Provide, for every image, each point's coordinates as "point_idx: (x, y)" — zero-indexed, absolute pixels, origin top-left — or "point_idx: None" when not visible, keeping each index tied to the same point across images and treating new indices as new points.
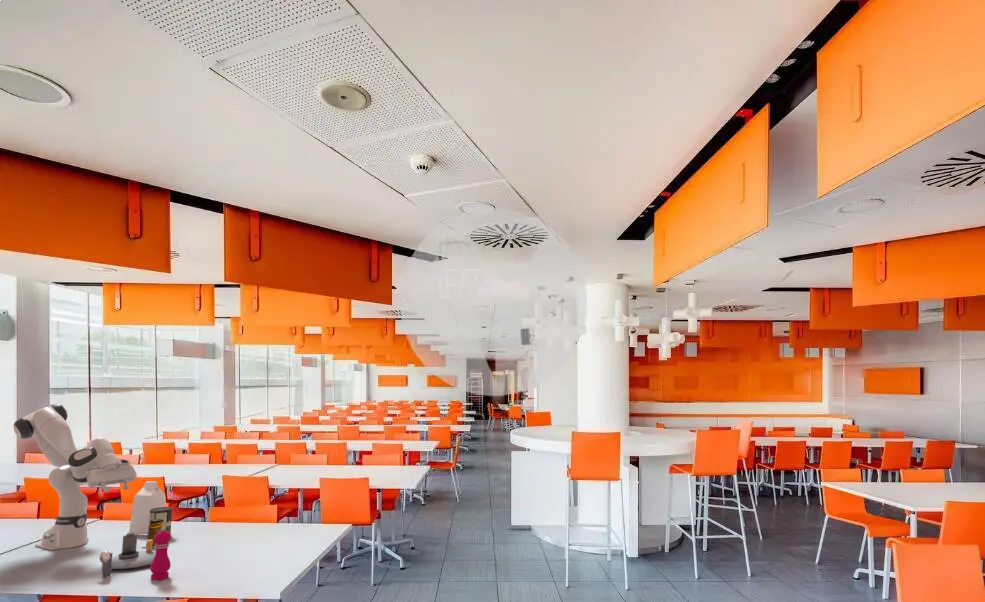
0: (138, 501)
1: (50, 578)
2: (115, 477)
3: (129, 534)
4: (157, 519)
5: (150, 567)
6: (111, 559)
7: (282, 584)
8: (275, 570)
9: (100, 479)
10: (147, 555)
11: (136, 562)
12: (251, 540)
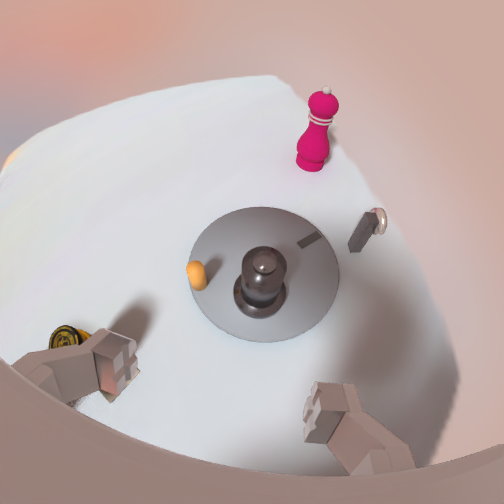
0: None
1: (415, 347)
2: (157, 484)
3: (274, 256)
4: (56, 347)
5: (327, 154)
6: (360, 222)
7: (259, 76)
8: (220, 90)
9: (461, 484)
10: (231, 257)
11: (287, 234)
12: (69, 182)
